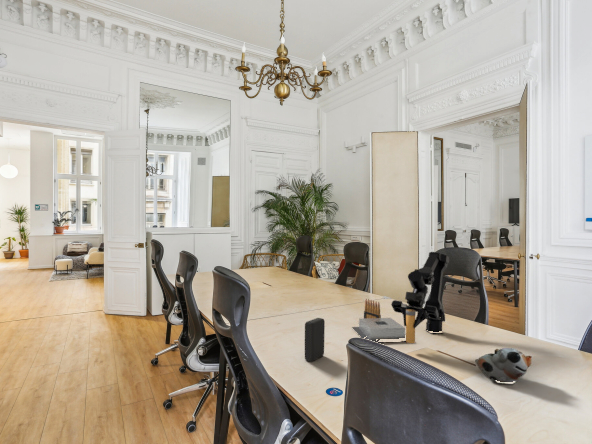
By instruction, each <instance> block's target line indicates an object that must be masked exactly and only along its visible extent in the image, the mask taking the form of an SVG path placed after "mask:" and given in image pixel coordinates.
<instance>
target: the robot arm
mask: <svg viewBox="0 0 592 444" xmlns="http://www.w3.org/2000/svg"><path fill="white" fill-rule="evenodd" d="M449 264H450V257H449V256H448V255H447V254H443V253H441V252H440V251H429V253H428V257H427V259H426V261H425V263H424V264H423V266H422V267H421V268H418V269H414V270H413V271H411V272H410V273H409V274H408V275H407V279H408V281H409V283H410V286H411V288H412V289H413V290H412V292H411V291H406V292H405V298H404V300H406V303H403V301H402V300H395V299H394V300H392V301H391V304H390V305H391V307H392V309H393V311H394V313H399V314H402V316H403V327H406V310H407V309H411V310H415V311H416V314H417V315H416V316H415V322H414V326H413V327H414V328H415V329H416V328H417V327H418V326H419V325H420V324H421V323H422V322H424V321H425V320H426V322H425V323H426V325H425V329H426V330H428V331H433V332H439V331H442V332H443V323H444V322H446V314H445V311H444V309H443V304H442V302H441V294H442V287H443V286H442V284H443V276H444V272H445V271H446V270H447V268H448V265H449ZM428 286H431V288H430V296H429V299H428V300H426V298H427V297H426V296H427V294H428V293H429V292H428V290H429V288H428ZM426 330H425V331H426ZM428 331H427V332H428Z"/></svg>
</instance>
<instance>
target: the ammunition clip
mask: <svg viewBox="0 0 592 444" xmlns="http://www.w3.org/2000/svg"><path fill="white" fill-rule="evenodd" d="M367 299H368V300H367ZM363 318H382V315H381V305H380V301H378V302H377V301H375V300H372V299H370V298H365V302H364V311H363Z"/></svg>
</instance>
